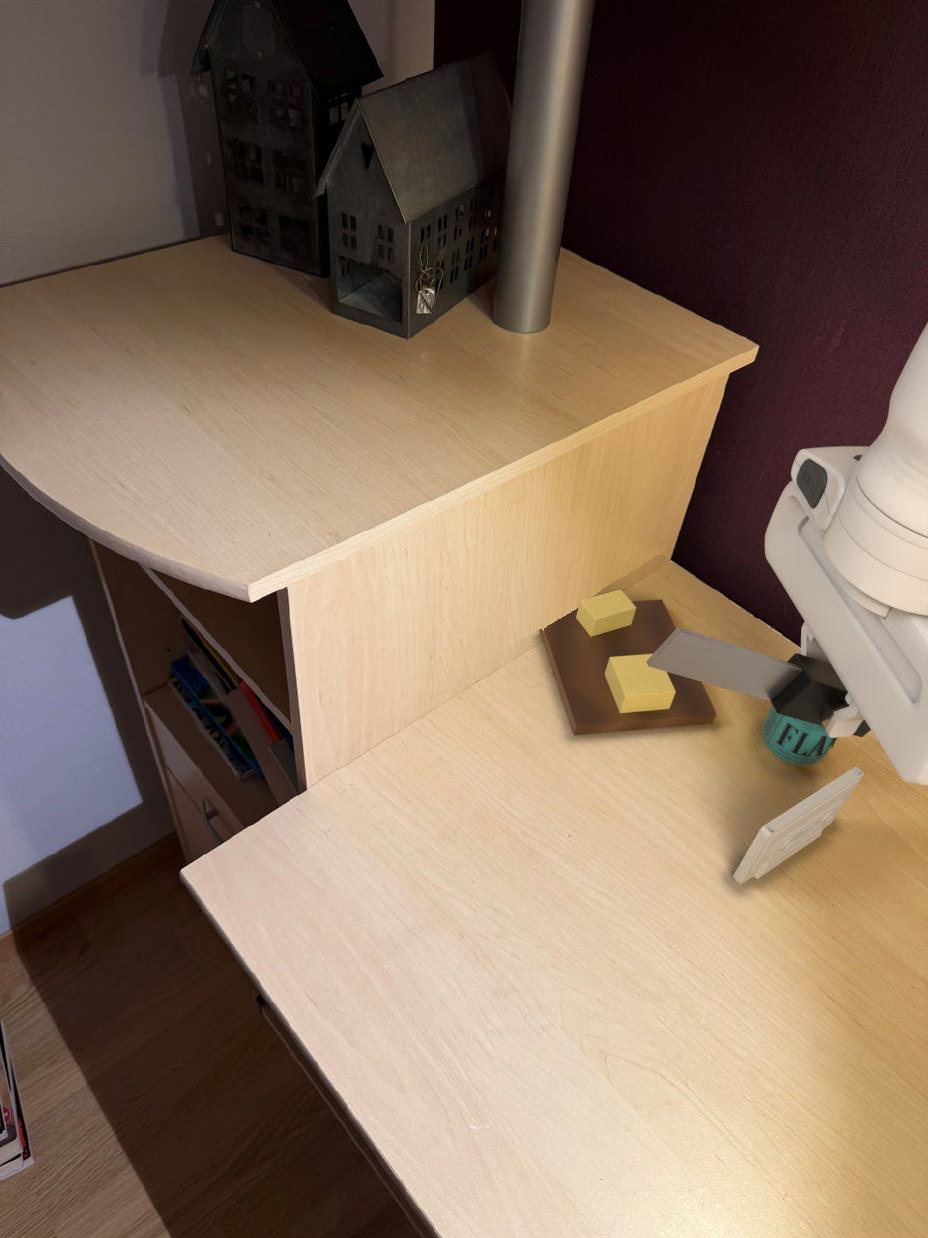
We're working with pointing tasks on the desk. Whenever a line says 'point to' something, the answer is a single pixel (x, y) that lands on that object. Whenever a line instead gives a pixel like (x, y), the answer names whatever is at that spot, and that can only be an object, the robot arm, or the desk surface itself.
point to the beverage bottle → (795, 739)
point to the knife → (755, 674)
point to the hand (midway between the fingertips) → (820, 705)
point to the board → (586, 662)
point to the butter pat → (605, 612)
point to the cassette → (796, 827)
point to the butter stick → (638, 684)
